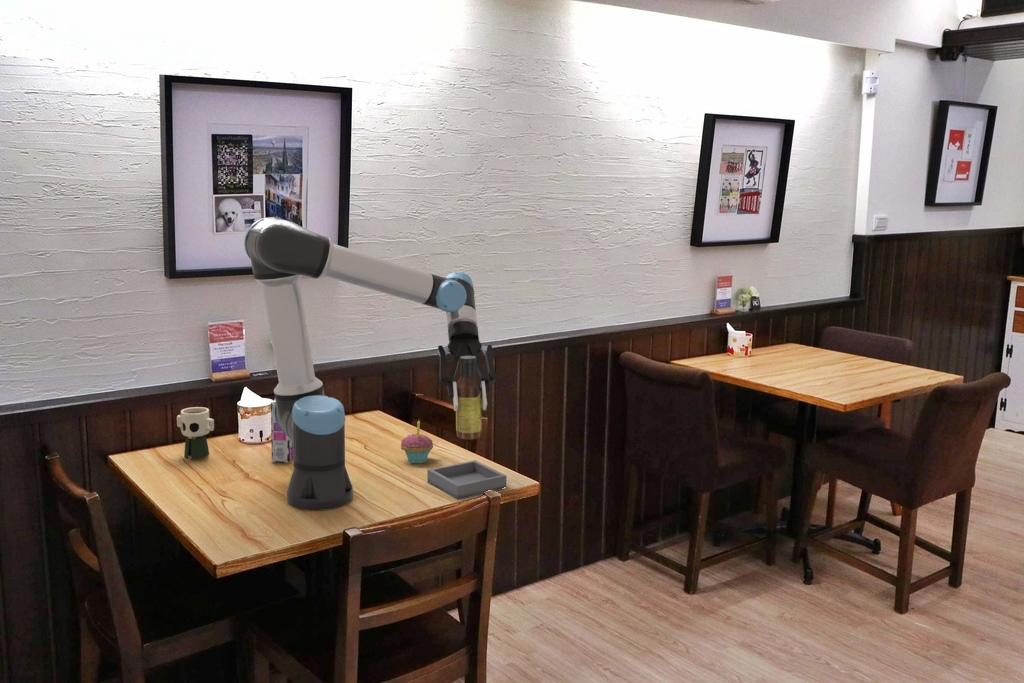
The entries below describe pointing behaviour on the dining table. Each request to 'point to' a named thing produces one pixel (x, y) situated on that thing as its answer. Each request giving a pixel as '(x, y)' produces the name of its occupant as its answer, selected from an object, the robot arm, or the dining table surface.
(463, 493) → the tray
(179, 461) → the dining table surface
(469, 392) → the sauce bottle
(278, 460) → the candy bar box
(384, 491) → the dining table surface
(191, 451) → the character mug
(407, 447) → the cupcake
